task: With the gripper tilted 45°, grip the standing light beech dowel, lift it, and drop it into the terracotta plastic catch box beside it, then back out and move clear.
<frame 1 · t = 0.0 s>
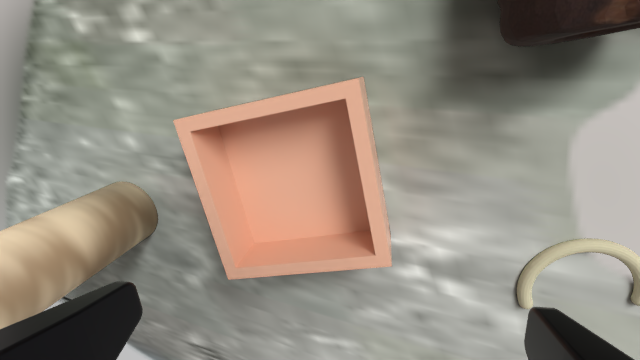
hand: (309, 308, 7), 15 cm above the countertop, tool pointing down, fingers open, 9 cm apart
catch box: (300, 173, 22), on the countertop
beech dowel: (129, 211, 26), on the countertop
handle: (576, 268, 21), on the countertop
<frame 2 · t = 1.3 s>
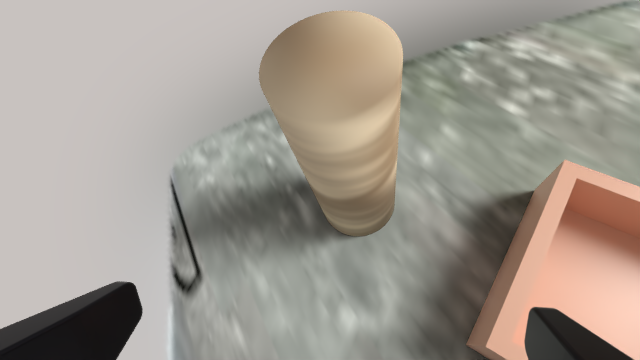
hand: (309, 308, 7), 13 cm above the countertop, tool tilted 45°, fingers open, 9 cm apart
catch box: (605, 313, 17), on the countertop
beech dowel: (357, 201, 23), on the countertop
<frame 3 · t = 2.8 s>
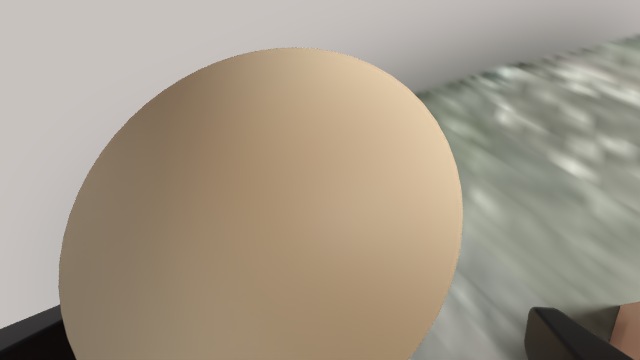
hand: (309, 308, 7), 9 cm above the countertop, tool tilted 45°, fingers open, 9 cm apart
beech dowel: (350, 305, 15), on the countertop
when the fingers open (9 cm above the countertop, at t = 8.3 s): beech dowel drops 1 cm, resting on catch box.
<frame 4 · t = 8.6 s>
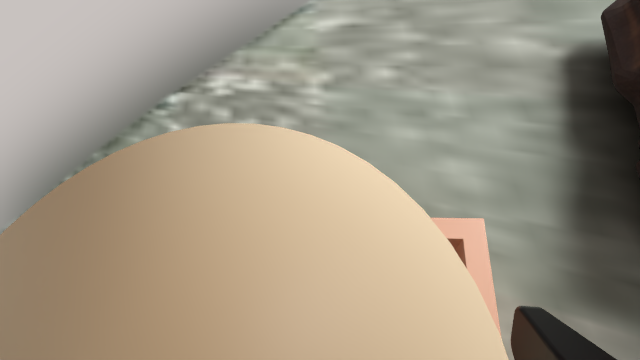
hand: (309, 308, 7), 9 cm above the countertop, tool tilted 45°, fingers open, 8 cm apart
catch box: (348, 359, 14), on the countertop
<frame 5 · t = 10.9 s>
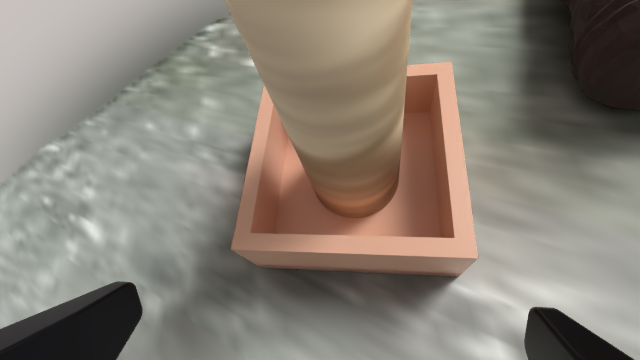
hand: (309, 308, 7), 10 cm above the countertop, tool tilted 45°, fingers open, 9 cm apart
catch box: (356, 183, 20), on the countertop
beech dowel: (355, 177, 19), point 1 cm above the countertop, touching catch box
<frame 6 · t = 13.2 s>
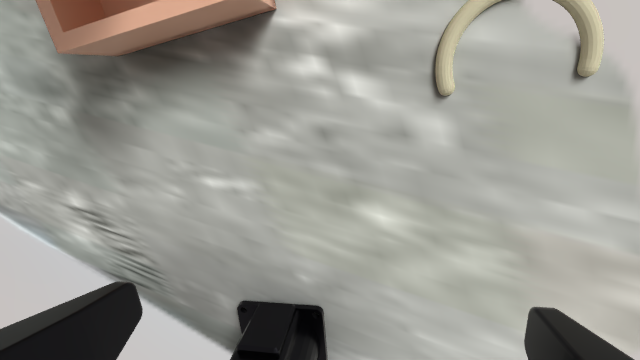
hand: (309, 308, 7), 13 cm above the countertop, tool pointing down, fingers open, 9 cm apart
handle: (510, 35, 16), on the countertop
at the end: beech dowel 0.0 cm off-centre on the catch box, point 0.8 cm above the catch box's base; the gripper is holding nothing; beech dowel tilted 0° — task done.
